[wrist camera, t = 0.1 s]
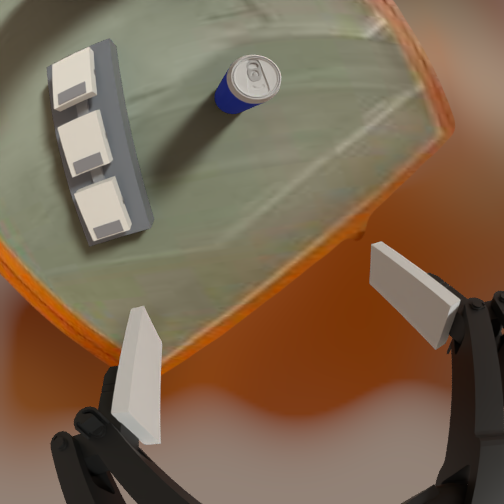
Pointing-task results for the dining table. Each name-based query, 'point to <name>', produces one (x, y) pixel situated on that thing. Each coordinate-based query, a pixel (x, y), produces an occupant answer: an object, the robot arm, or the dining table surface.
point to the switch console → (118, 139)
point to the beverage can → (248, 84)
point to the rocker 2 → (85, 143)
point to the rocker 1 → (74, 79)
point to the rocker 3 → (103, 208)
